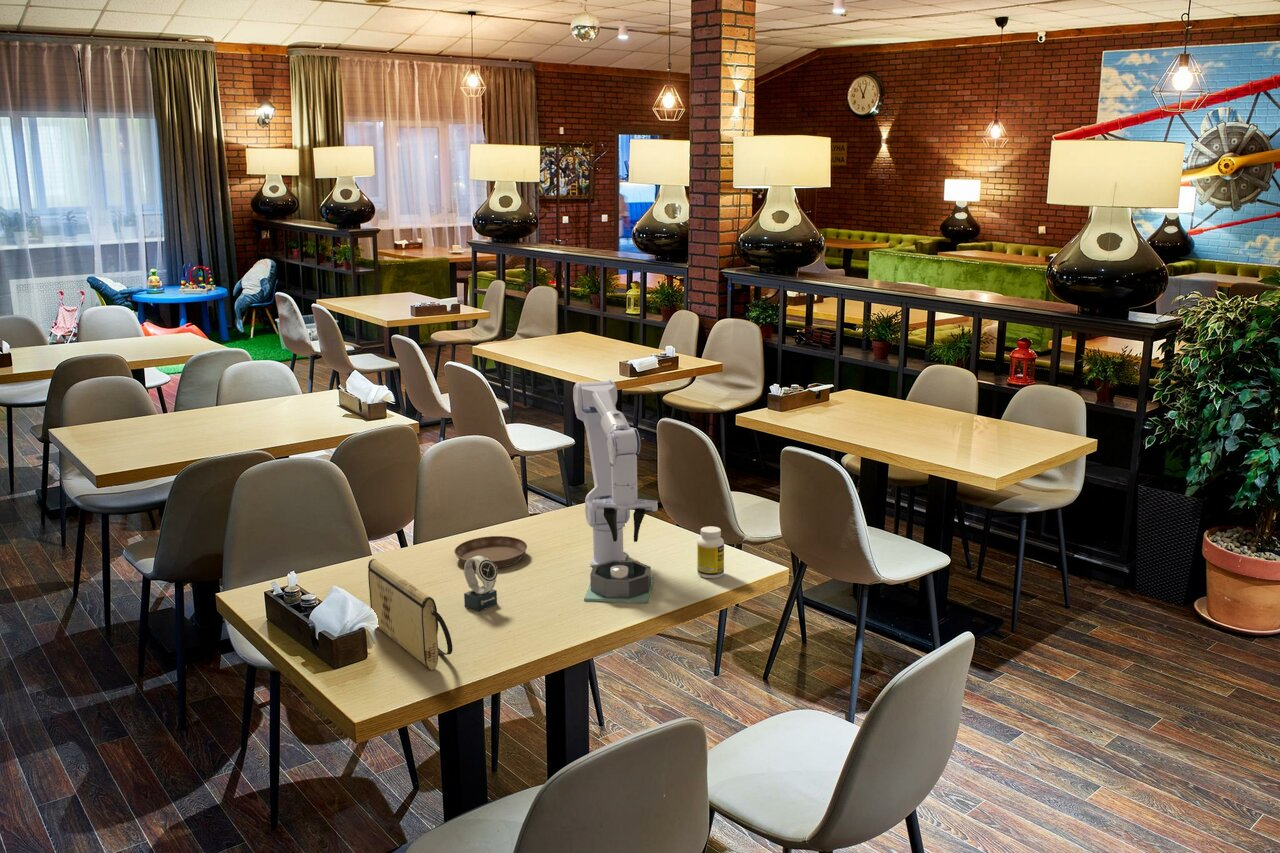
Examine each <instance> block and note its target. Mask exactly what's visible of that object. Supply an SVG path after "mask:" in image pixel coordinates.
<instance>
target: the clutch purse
mask: <svg viewBox="0 0 1280 853" xmlns="http://www.w3.org/2000/svg"><path fill="white" fill-rule="evenodd" d="M367 568H368V569H367V570H368V573H367V574H368V575H367V577H368V590H369V605H370V609H371V608H372V609H373V610H374V612H375V613H376V615H377V618H378V625H379V628H378V629H379V630H380V631H382V632H383V633H384V634H385V635H387V636H388V637H389V638H390V639H392V641H394V642H396V643H397V644H398V645H399V646H400V647H402V648H403V649H404V650H405V651H407V652H408V653H409V654H410V655H412V656H413V657H414V658H415V659H416V660H418V661H419V662H421V663H422V665H424V666H425V667H426V668H427V669H428V670H429V671H434V670H436V667H437V666H438V664H439V663H438V662H439V654H440V655H444V656H445V655H449V656H450V655H451V654H452V653H453V642H452V637H451V634H450V631H449V627H448V626H447V624H446V622H445V620H444V619H443V616H442V615H441V614H440V613H439V612H438V610H437V609H438V608H437V604H436V601H435V599H434V598H432V597H431V596H429V595H427V594H426V593H425V592H424V591H422V590H420V589H419V588H417V587H416V586H415V585H413V584H411V583H410V582H409V581H407V580H406V579H405V578H403V577H401V576H400V575H399V574H397V573H396V572H394V571H393V570H391V569H390V568H388V567H387V566H385V565H384V564H383V563H381V562H379V561H378V560H377V559H375V558H372V559H370V560H369V561H368V566H367ZM439 625H440V627H441V629H442V633H443V634H444V637H445V641H446V645H447V652H444V651H443V650H441V648H439V642H438V631H439Z"/></svg>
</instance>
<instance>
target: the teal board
mask: <svg viewBox="0 0 1280 853" xmlns="http://www.w3.org/2000/svg"><path fill="white" fill-rule="evenodd" d="M628 580H629V578H628ZM654 580H655V579H654V576H651V586H650V590H649V593H646V594H643V595H640V596H637V597H634V598H630V599H621V598H604V597H602V596H600V595H598V594H596V593H594V592H592V591H591V582H590V583H589V585H588V587H587V589H586V592H585V595H584V597H583V601H584V602H608V603H609V602H610V603H611V602H612V603H614V602H615V603H640V602H647V603H648V602H649V600H650V594H651V590H652V587H653V584H652V583H654Z"/></svg>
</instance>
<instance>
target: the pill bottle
mask: <svg viewBox="0 0 1280 853" xmlns="http://www.w3.org/2000/svg"><path fill="white" fill-rule="evenodd" d="M721 536H722V530H721V528H720V527H718V526H710V525H709V526H703V527H702V528H700V537H699V538H698V539H697V544H696V546H697V548H696V549H697V550H696V551H697V552H696V553H697V560H696V561H697V562H696V564H697V567H696V569H697V574H698V576H699V577H701V578H704V579H705V578H706V579H718V578H721V577H722V576H723V575H724V572H725V541H724V539H723V538H722V537H721Z"/></svg>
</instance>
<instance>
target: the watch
mask: <svg viewBox="0 0 1280 853" xmlns="http://www.w3.org/2000/svg"><path fill="white" fill-rule="evenodd" d="M474 560H475V565H476V568H475V570H474V569H473V567H472V563H473V561H474ZM463 568H464V572H463V573H464V577H465V581H466V583H467V585H468V588H469V589H471V590H469V591H466V592H464V593H463V596H464V597H463V600H464V607H465V608H467V609H470V610H471V611H472V610H473V611H475V612H480V611H483V610H486V609H487V608H490V607H493V606H496V605H498V596H497V595H498V594H497V590H496V589H494V587H495V585H496V582H497V576H498V574H499V573H498V568H497V566H496V565H495V564H494V563H493V562H492V561H490V560H489V559H487V558H485V557H483V556H475V557H473V558H470V559H468V560H467V561H466V562H465V564H464V567H463ZM476 575H477V576H476ZM477 578H478V579H479V580H480V581H481V583H482V584H483V585H482V586H480V585H479V581H478V579H477ZM485 608H486V609H485Z"/></svg>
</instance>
